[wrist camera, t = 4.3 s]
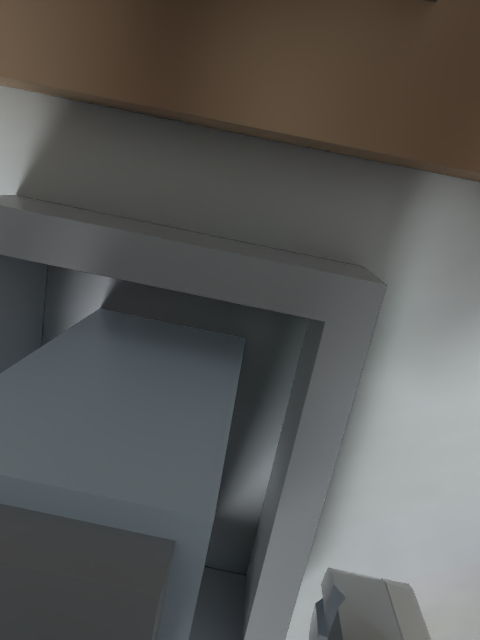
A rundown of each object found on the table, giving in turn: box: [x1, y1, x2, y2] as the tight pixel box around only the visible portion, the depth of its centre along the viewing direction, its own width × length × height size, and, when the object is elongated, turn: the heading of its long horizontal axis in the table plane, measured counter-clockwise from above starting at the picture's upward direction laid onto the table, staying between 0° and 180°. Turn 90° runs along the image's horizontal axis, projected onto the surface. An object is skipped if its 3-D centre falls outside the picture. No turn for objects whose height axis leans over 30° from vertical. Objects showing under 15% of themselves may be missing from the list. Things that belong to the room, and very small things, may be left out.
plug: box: [0, 308, 246, 640], centre depth 9 cm, size 4×6×8 cm, turn 169°
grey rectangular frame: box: [0, 195, 387, 640], centre depth 12 cm, size 9×11×2 cm
